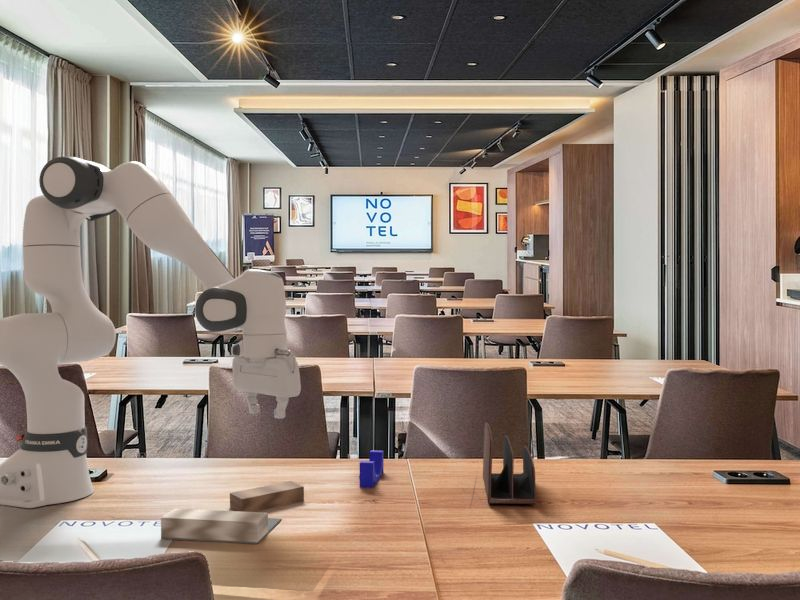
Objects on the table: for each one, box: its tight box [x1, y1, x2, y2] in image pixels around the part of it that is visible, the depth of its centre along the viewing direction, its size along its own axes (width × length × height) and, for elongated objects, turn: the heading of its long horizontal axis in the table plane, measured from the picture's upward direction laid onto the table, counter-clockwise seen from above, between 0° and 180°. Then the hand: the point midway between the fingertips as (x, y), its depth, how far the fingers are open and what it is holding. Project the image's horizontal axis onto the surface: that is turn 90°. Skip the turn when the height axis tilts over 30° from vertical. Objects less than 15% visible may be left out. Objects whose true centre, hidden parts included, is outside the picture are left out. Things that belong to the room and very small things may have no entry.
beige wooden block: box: [160, 507, 269, 542], centre depth 131 cm, size 18×5×4 cm, turn 81°
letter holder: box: [482, 422, 537, 505], centre depth 159 cm, size 10×20×14 cm, turn 177°
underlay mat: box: [160, 517, 282, 545], centre depth 135 cm, size 18×13×1 cm
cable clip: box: [358, 449, 385, 489], centre depth 167 cm, size 12×4×6 cm, turn 170°
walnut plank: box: [229, 480, 305, 512], centre depth 150 cm, size 14×6×4 cm, turn 128°
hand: (266, 415), depth 149 cm, fingers open, 8 cm apart
